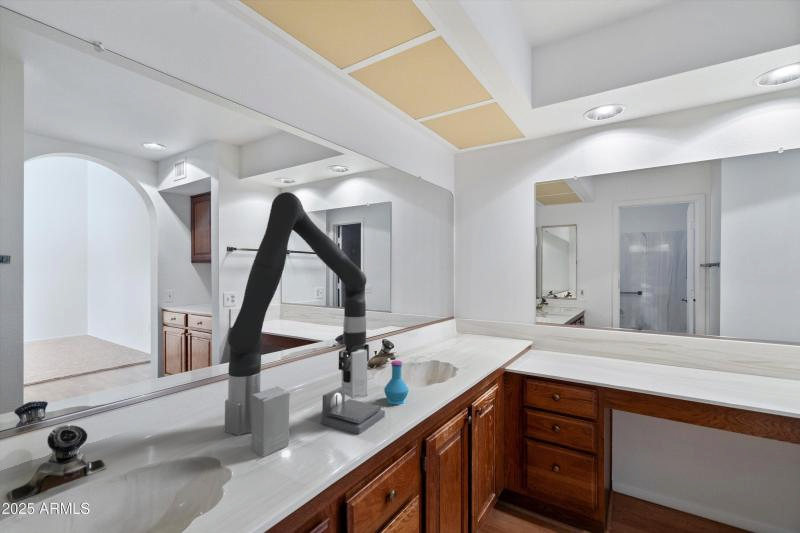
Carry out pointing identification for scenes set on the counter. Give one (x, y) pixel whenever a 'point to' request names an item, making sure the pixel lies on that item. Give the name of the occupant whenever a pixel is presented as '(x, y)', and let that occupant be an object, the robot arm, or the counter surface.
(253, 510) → the counter surface
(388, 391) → the perfume bottle
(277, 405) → the skincare box
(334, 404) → the scale base
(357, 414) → the pan
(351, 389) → the skincare box
